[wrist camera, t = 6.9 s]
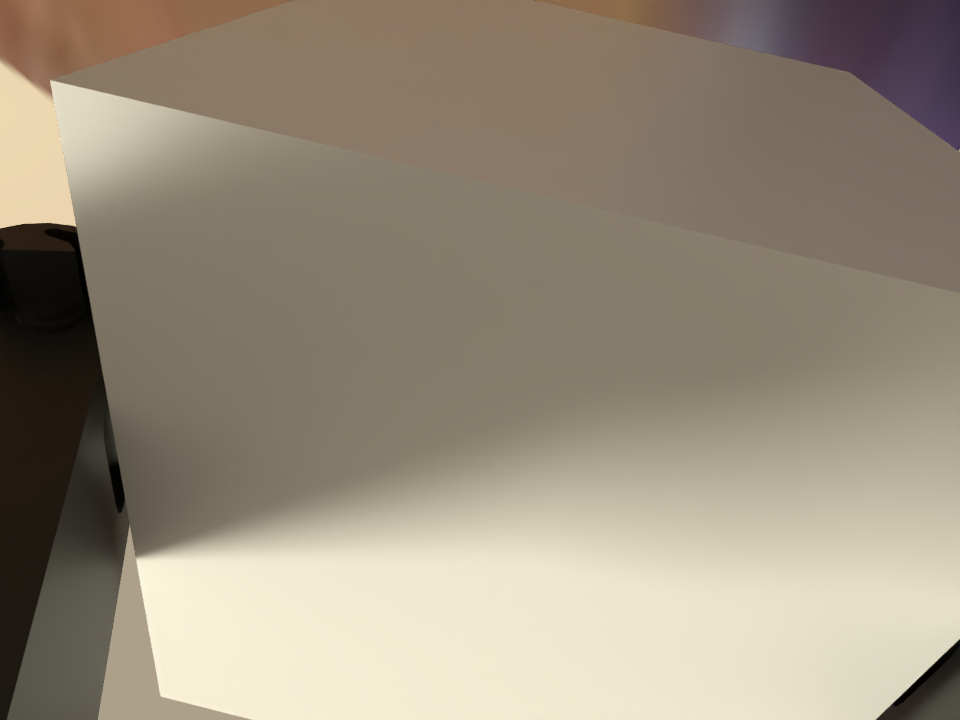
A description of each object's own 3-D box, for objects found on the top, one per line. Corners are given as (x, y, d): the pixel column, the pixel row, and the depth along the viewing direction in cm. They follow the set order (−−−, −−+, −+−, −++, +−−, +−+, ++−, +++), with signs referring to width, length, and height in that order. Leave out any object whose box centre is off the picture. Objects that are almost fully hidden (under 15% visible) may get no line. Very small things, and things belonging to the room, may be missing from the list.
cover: (391, -32, 12) (51, 80, 5) (849, 72, 12) (1247, 361, 4) (357, 344, 17) (160, 696, 9) (683, 423, 17) (744, 845, 9)
